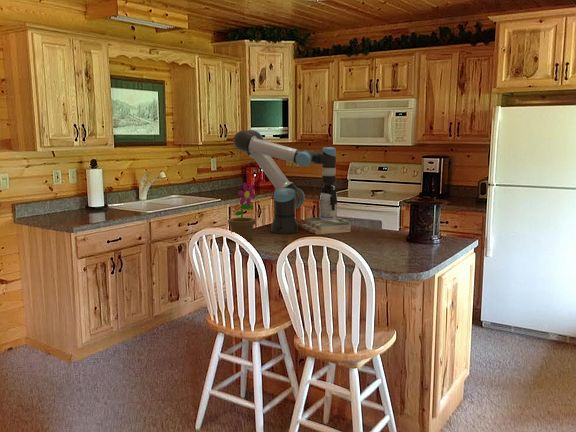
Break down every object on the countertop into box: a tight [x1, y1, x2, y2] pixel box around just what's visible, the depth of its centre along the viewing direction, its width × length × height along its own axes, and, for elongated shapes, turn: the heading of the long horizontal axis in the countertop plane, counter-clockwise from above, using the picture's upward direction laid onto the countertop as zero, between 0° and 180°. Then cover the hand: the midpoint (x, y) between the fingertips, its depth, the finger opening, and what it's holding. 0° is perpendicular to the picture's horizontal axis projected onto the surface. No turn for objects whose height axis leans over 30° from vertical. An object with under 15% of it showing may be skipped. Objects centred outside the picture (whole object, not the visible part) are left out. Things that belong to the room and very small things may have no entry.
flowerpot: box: [227, 182, 257, 242], centre depth 280 cm, size 14×14×30 cm
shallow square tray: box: [301, 216, 352, 235], centre depth 307 cm, size 20×21×6 cm
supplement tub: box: [319, 192, 338, 220], centre depth 306 cm, size 10×10×15 cm
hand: (328, 214), depth 307 cm, fingers closed on supplement tub, 9 cm apart
